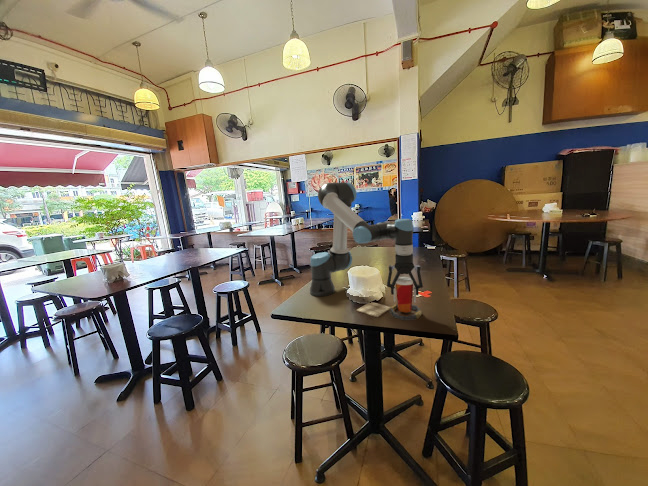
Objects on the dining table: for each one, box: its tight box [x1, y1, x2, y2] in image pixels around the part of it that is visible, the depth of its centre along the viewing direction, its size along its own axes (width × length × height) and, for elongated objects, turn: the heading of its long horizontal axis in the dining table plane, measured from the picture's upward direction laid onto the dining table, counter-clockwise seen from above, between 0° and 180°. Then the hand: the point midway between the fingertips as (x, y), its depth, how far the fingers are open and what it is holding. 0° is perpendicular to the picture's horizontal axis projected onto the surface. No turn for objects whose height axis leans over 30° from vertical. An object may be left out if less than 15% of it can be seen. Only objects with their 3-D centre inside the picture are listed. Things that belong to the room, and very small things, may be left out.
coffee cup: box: [395, 276, 414, 314], centre depth 115 cm, size 8×8×15 cm
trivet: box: [356, 301, 391, 318], centre depth 123 cm, size 12×12×1 cm
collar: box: [389, 303, 422, 321], centre depth 117 cm, size 13×13×2 cm
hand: (404, 301), depth 116 cm, fingers closed on coffee cup, 8 cm apart
